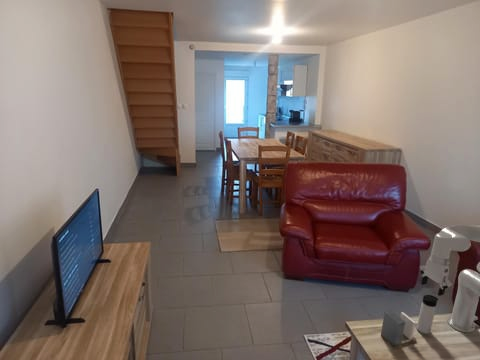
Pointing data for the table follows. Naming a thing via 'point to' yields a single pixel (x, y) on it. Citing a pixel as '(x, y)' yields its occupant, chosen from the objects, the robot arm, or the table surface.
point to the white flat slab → (408, 326)
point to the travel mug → (426, 314)
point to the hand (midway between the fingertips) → (432, 289)
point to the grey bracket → (394, 330)
